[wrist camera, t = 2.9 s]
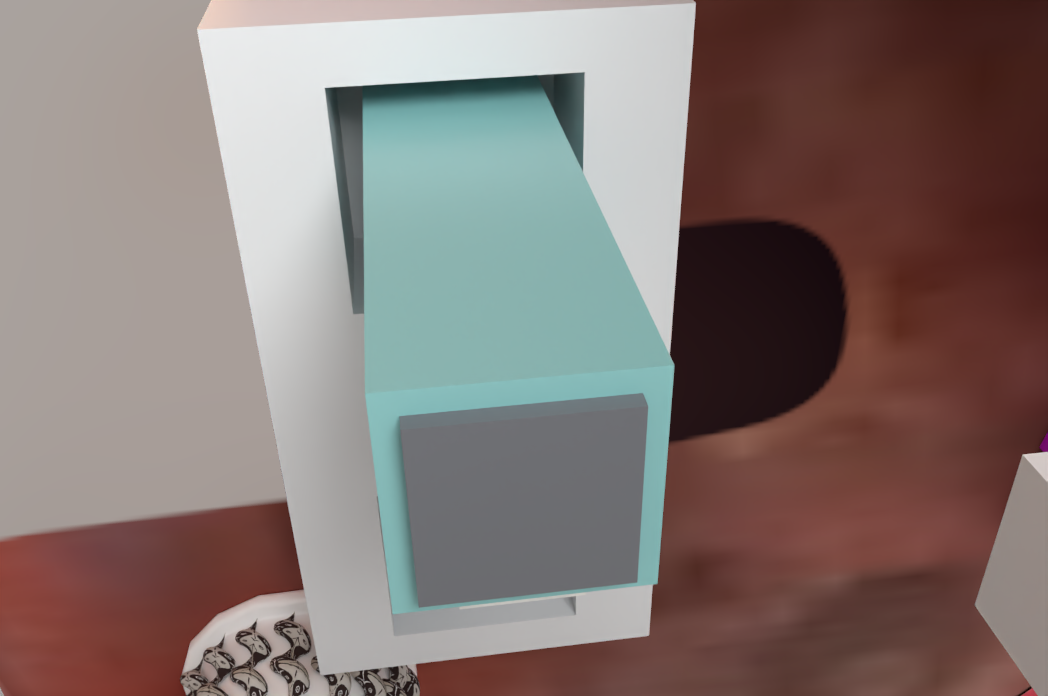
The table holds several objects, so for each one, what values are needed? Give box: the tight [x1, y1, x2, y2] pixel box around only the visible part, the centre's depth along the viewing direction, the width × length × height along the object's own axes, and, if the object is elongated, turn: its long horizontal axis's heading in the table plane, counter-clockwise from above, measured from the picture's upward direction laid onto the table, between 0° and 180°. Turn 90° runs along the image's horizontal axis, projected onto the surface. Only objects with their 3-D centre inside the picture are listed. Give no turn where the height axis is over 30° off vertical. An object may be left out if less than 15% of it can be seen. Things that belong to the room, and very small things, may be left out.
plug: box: [362, 75, 674, 614], centre depth 20 cm, size 5×4×14 cm
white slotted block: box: [197, 0, 696, 675], centre depth 27 cm, size 19×10×5 cm, turn 1°
